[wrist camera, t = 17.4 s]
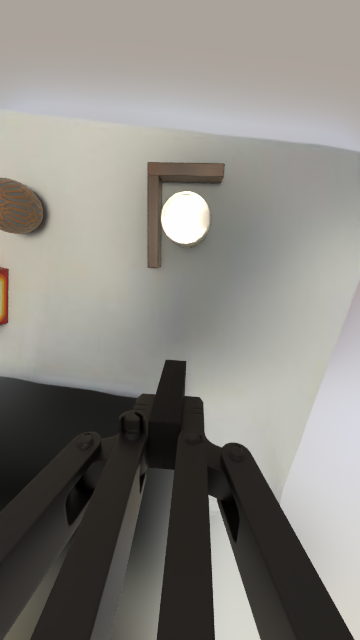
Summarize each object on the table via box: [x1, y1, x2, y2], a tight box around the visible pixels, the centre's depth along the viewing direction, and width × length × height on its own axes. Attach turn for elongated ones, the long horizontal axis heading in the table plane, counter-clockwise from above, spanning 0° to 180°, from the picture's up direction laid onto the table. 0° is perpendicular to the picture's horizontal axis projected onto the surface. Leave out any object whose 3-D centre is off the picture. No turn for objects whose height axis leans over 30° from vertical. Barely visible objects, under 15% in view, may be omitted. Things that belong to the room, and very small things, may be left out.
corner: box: [148, 162, 225, 268], centre depth 34 cm, size 10×14×3 cm
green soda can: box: [161, 191, 211, 248], centre depth 30 cm, size 5×5×12 cm
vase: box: [0, 178, 43, 234], centre depth 32 cm, size 7×7×9 cm
